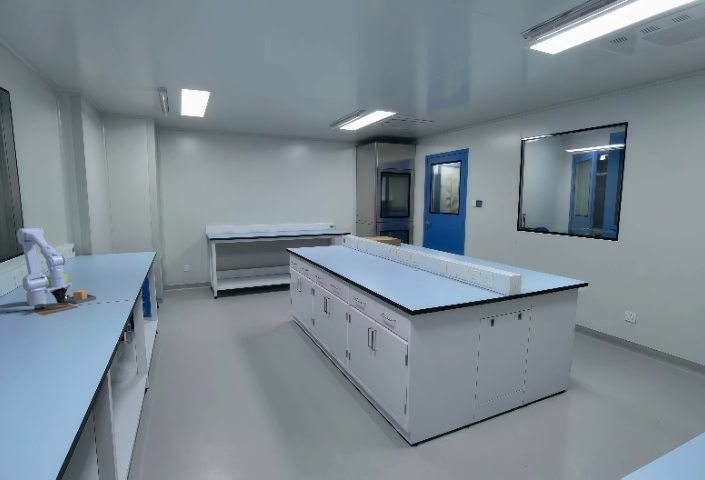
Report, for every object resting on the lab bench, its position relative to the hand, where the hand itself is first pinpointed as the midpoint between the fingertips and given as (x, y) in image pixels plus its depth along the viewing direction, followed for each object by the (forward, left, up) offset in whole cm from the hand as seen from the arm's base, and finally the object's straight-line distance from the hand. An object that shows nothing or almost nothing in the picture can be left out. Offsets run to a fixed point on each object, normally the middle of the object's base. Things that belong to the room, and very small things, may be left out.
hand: (60, 302), depth 196 cm
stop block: (-8, +13, -4) cm, 16 cm away
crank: (-6, -1, -3) cm, 7 cm away
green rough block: (-58, +21, -5) cm, 62 cm away
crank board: (-4, -2, -4) cm, 6 cm away
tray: (-8, +13, -4) cm, 16 cm away
